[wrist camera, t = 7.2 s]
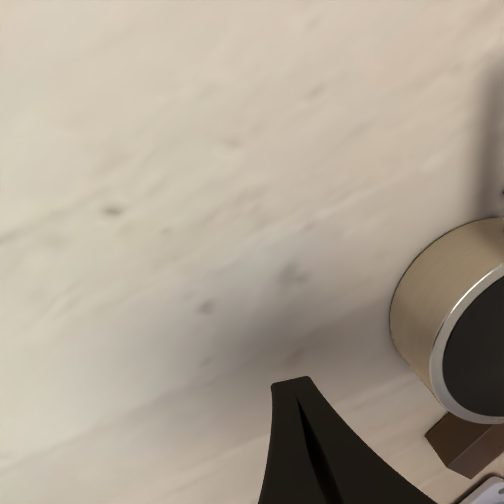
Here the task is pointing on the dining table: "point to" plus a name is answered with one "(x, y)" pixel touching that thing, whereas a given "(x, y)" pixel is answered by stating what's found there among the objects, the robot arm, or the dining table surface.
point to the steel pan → (457, 320)
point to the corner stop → (466, 444)
